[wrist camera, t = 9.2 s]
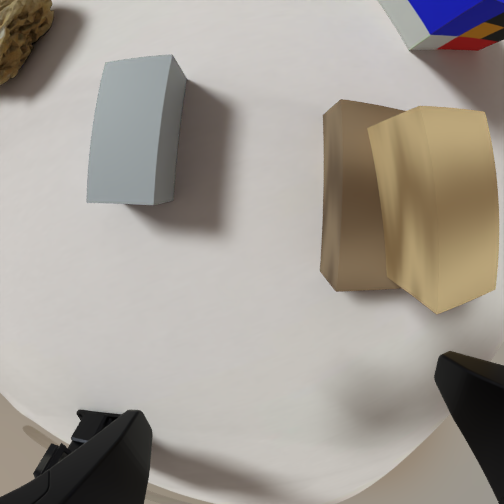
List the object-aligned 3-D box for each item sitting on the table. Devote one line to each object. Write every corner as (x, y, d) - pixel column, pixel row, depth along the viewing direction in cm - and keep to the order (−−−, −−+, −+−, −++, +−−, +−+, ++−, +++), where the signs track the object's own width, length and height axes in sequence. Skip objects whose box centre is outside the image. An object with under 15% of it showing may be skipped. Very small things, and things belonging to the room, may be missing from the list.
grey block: (174, 200, 17) (153, 205, 13) (117, 198, 17) (86, 202, 13) (187, 79, 15) (172, 54, 11) (131, 83, 15) (105, 62, 11)
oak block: (440, 261, 14) (495, 289, 9) (386, 276, 14) (436, 314, 9) (426, 126, 12) (485, 112, 7) (367, 128, 12) (419, 105, 7)
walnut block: (417, 267, 18) (448, 284, 14) (318, 269, 18) (335, 291, 14) (423, 133, 16) (457, 125, 12) (321, 116, 16) (340, 99, 12)
